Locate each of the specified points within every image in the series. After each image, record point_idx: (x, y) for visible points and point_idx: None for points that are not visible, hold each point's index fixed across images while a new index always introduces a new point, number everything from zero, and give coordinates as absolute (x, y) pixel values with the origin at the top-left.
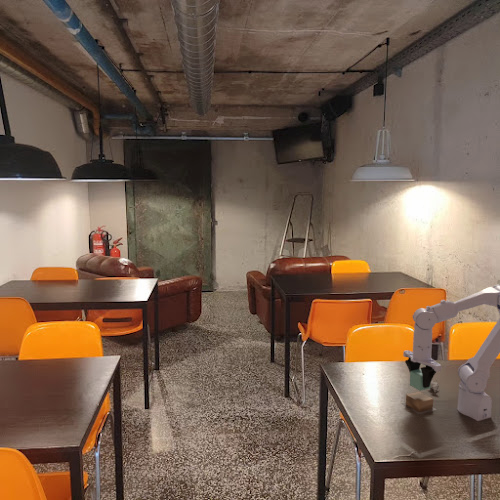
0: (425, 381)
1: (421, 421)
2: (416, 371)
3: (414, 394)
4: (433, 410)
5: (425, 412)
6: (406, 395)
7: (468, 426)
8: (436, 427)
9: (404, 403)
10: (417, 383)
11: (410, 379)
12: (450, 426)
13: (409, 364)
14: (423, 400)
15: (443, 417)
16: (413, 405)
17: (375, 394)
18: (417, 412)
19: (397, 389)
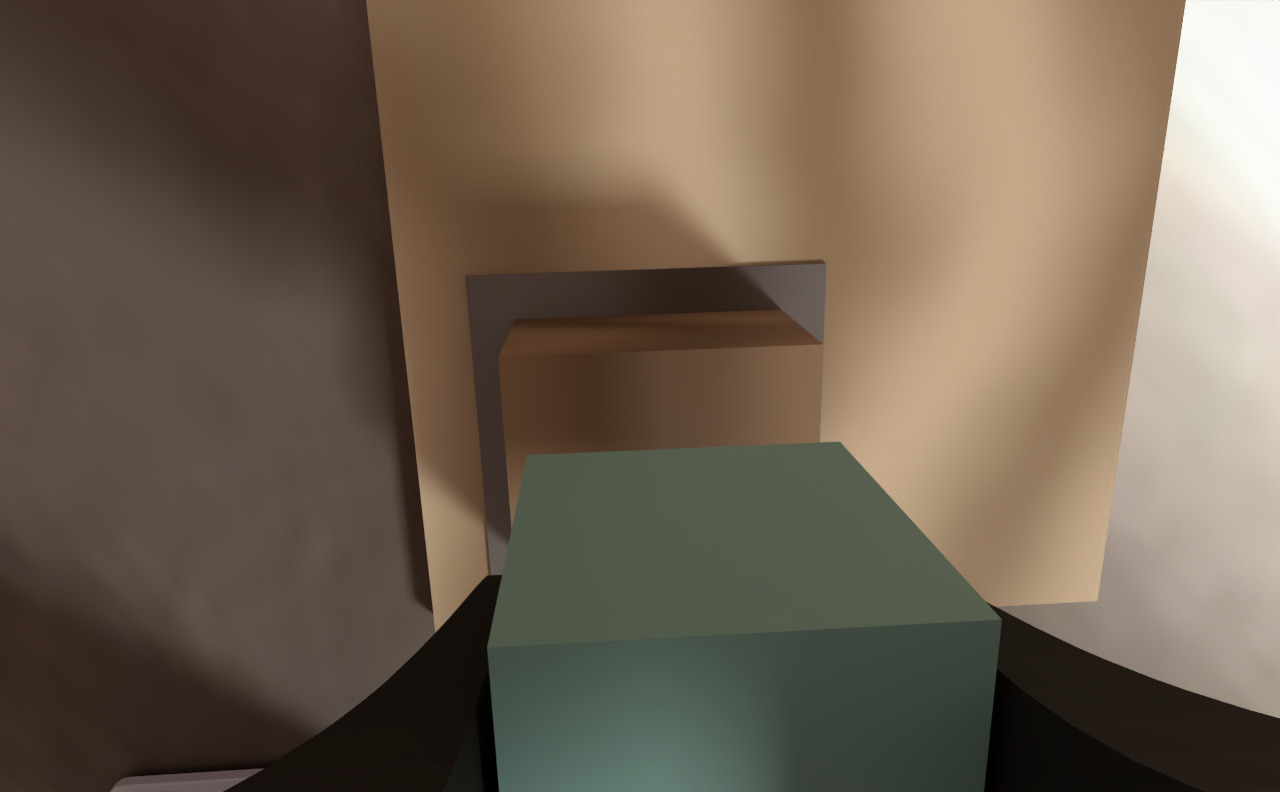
0: (415, 665)
1: (357, 212)
2: (869, 783)
3: None
4: (487, 538)
5: (479, 400)
6: (810, 340)
7: (91, 670)
8: (161, 289)
9: (804, 306)
10: (616, 508)
11: (869, 498)
12: (141, 477)
13: (1223, 788)
14: None
15: (360, 559)
16: (632, 326)
17: (1260, 141)
18: (519, 293)
19: (1188, 543)
